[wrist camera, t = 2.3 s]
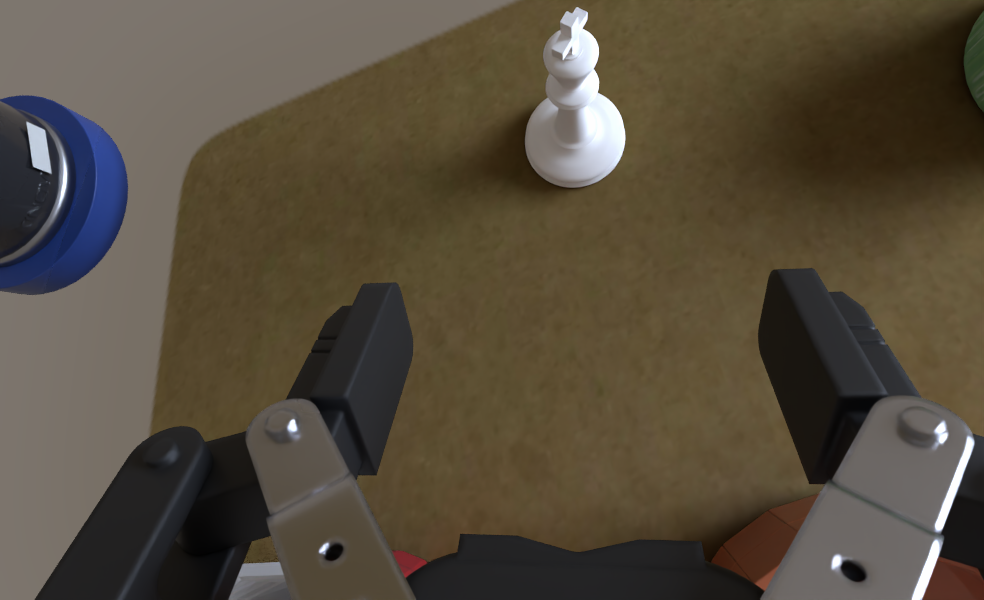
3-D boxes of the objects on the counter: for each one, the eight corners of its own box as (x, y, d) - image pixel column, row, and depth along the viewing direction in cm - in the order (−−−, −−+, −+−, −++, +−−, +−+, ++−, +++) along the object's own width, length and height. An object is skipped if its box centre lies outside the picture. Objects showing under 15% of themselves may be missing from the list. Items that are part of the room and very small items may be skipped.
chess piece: (643, 119, 29) (673, -15, 19) (593, 205, 29) (597, 114, 19) (556, 77, 30) (542, -71, 20) (507, 160, 30) (468, 51, 20)
